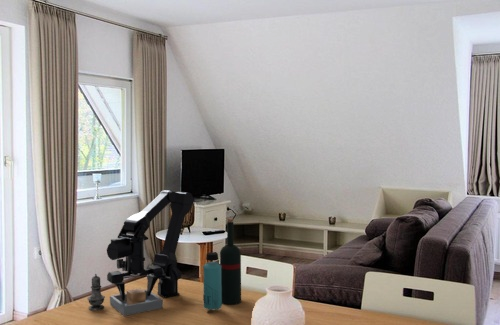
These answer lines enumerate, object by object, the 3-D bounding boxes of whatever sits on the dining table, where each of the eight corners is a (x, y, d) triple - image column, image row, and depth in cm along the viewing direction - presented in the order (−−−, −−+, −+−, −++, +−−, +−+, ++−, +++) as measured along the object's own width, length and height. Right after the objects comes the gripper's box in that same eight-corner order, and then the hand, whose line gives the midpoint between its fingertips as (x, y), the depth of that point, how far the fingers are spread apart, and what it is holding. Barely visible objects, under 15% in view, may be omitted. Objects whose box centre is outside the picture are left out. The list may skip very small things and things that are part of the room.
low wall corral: (147, 297, 194) (147, 289, 194) (162, 308, 183) (162, 299, 183) (110, 304, 187) (109, 295, 187) (123, 315, 175) (123, 306, 175)
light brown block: (140, 302, 188) (140, 288, 188) (145, 305, 184) (145, 291, 184) (126, 304, 186) (126, 290, 185) (131, 308, 181) (131, 294, 181)
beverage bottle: (225, 308, 182) (224, 251, 181) (217, 315, 176) (217, 255, 174) (207, 306, 184) (207, 250, 183) (199, 313, 178) (199, 254, 177)
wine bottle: (244, 296, 195) (244, 216, 193) (239, 305, 185) (238, 220, 183) (223, 295, 197) (223, 215, 195) (217, 304, 187) (216, 220, 185)
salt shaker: (100, 311, 180) (99, 276, 179) (84, 310, 181) (83, 275, 180) (108, 305, 185) (107, 271, 185) (92, 304, 187) (92, 271, 186)
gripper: (151, 246, 196) (152, 288, 197) (101, 253, 185) (102, 296, 186) (163, 252, 186) (164, 295, 187) (112, 259, 176) (112, 305, 177)
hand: (136, 298), depth 185 cm, fingers open, 9 cm apart
